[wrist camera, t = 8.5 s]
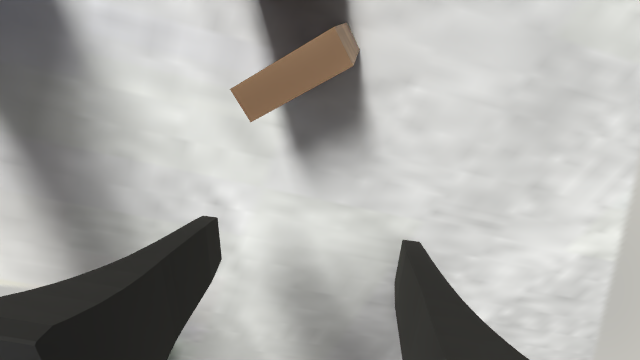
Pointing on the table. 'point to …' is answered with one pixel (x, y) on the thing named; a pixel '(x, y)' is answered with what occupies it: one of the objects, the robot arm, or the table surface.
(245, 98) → the domino
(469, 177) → the table surface
